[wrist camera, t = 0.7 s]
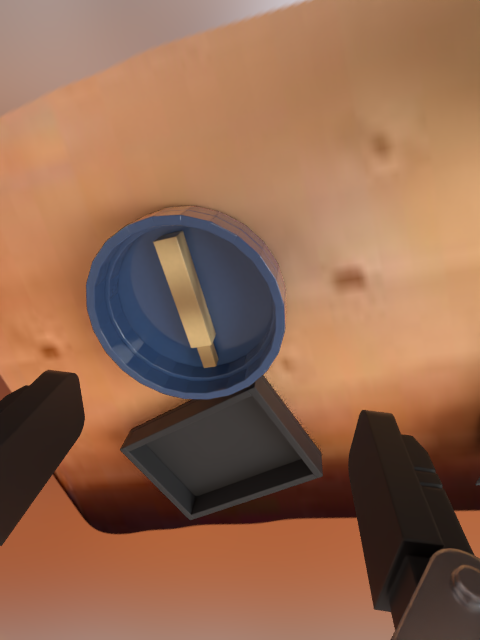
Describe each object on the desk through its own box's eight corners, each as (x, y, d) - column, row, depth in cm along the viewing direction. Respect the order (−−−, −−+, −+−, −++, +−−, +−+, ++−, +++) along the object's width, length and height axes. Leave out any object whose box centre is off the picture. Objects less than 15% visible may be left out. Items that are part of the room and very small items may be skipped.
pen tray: (257, 367, 29) (254, 387, 27) (321, 452, 32) (323, 476, 30) (130, 429, 34) (119, 449, 32) (196, 497, 37) (189, 520, 35)
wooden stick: (161, 235, 24) (152, 241, 23) (182, 230, 24) (175, 236, 23) (204, 359, 29) (199, 371, 27) (223, 356, 28) (219, 368, 27)
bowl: (214, 162, 22) (201, 166, 19) (320, 326, 26) (323, 351, 23) (74, 269, 27) (46, 287, 24) (182, 394, 31) (169, 423, 28)
